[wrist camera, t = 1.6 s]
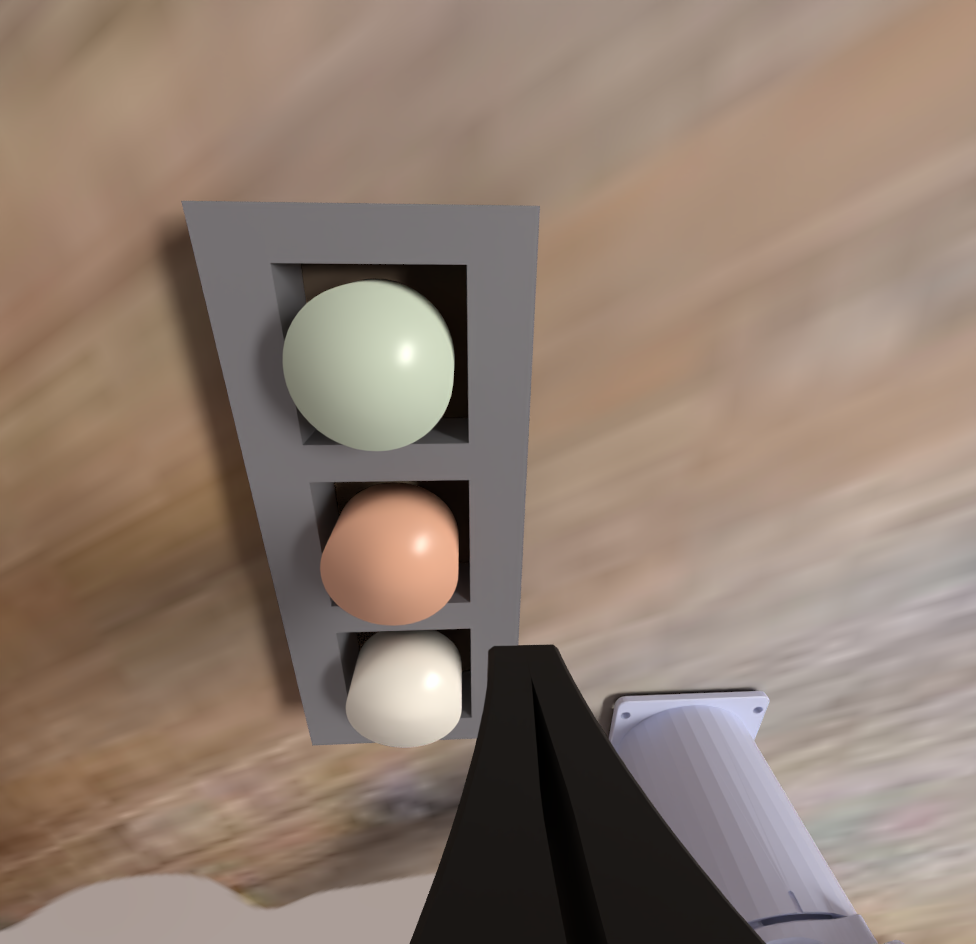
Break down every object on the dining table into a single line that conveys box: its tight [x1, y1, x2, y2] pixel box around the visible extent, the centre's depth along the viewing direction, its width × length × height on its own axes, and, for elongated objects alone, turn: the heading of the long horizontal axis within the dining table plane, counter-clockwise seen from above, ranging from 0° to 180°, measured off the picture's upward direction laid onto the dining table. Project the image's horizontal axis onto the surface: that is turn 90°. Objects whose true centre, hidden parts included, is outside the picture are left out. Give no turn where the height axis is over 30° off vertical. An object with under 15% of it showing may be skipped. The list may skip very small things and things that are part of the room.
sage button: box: [283, 279, 455, 451], centre depth 13 cm, size 4×4×2 cm
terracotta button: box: [320, 482, 459, 626], centre depth 16 cm, size 4×4×2 cm
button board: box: [181, 201, 540, 745], centre depth 17 cm, size 21×9×2 cm, turn 0°
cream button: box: [346, 630, 462, 748], centre depth 19 cm, size 4×4×2 cm
